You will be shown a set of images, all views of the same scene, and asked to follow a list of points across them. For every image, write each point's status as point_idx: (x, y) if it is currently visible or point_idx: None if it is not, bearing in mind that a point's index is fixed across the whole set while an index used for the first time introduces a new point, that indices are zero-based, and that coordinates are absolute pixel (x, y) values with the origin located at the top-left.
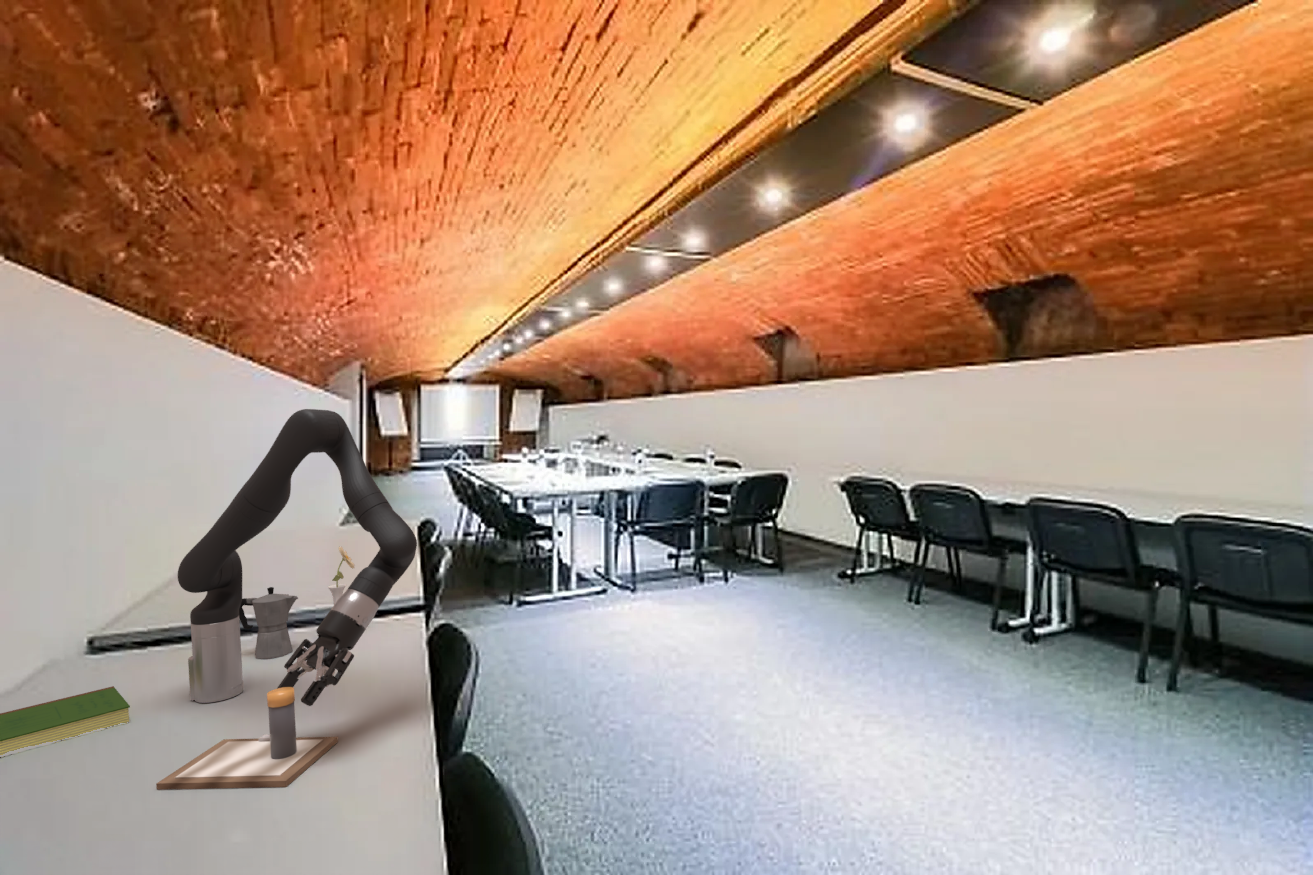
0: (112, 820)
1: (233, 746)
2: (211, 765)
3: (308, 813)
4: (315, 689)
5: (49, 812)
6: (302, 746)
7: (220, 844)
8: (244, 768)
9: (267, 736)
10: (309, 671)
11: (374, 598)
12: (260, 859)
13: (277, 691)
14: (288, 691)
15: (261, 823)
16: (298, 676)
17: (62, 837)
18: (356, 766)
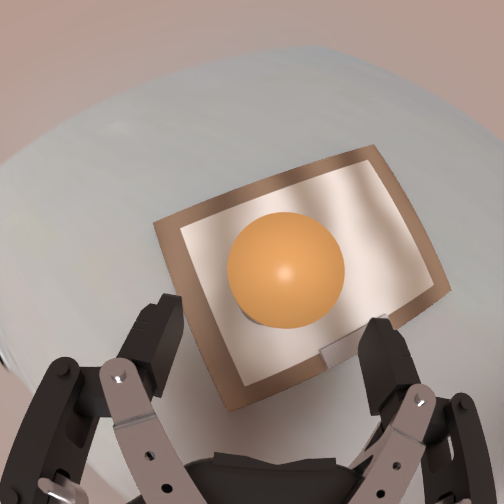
0: (325, 93)
1: (406, 275)
2: (360, 206)
3: (68, 194)
4: (128, 338)
5: (409, 96)
6: (258, 341)
7: (127, 112)
8: None
9: None
10: (350, 464)
11: None
12: (67, 125)
13: (303, 261)
14: (245, 280)
15: (111, 152)
16: (380, 421)
17: (332, 69)
18: (96, 332)
